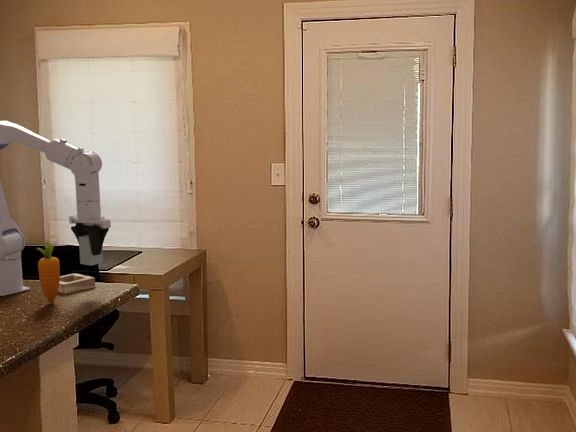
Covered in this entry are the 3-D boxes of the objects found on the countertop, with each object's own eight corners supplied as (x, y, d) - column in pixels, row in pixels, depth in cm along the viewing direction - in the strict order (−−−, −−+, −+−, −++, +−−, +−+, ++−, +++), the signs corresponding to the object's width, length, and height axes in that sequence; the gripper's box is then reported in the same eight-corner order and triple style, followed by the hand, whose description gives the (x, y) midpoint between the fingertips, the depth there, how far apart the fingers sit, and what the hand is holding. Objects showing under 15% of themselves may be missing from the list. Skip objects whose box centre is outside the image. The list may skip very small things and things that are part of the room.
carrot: (55, 306, 154) (51, 244, 152) (36, 305, 155) (31, 244, 153) (66, 301, 159) (62, 241, 157) (47, 300, 160) (43, 240, 158)
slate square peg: (80, 263, 164) (78, 236, 163) (93, 260, 167) (92, 234, 166) (89, 265, 162) (88, 238, 161) (103, 262, 165) (101, 235, 164)
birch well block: (45, 288, 171) (45, 279, 171) (75, 282, 178) (74, 273, 178) (65, 294, 165) (64, 284, 165) (95, 286, 172) (94, 277, 172)
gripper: (119, 200, 161) (122, 254, 163) (84, 197, 170) (87, 248, 172) (95, 203, 155) (98, 259, 157) (60, 199, 164) (64, 252, 166)
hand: (91, 253), depth 164 cm, fingers closed on slate square peg, 4 cm apart
